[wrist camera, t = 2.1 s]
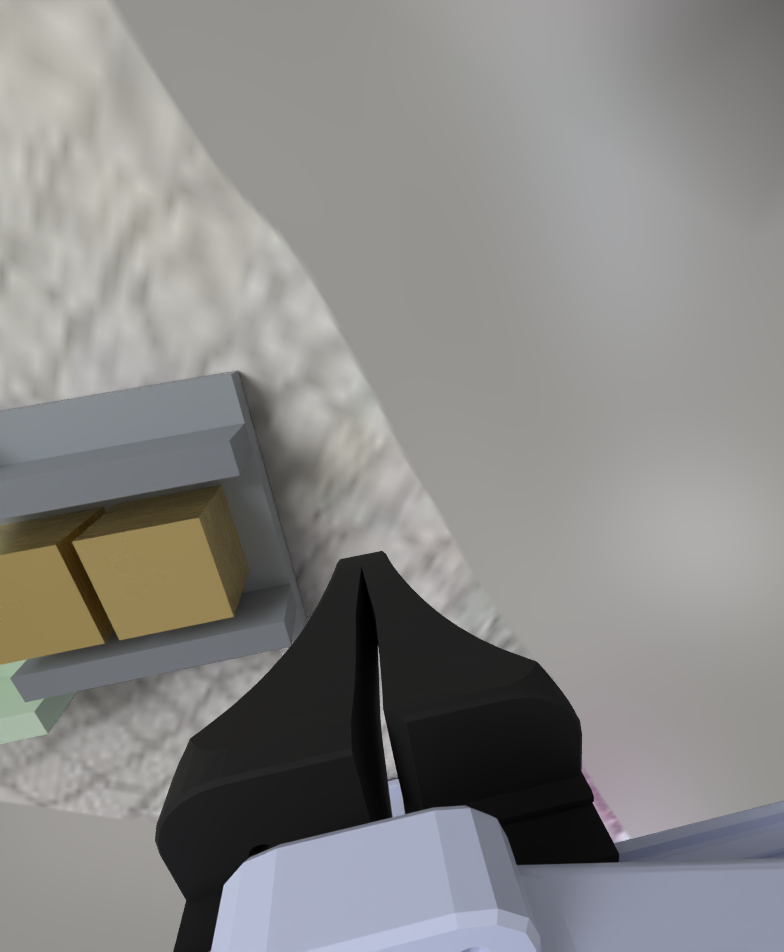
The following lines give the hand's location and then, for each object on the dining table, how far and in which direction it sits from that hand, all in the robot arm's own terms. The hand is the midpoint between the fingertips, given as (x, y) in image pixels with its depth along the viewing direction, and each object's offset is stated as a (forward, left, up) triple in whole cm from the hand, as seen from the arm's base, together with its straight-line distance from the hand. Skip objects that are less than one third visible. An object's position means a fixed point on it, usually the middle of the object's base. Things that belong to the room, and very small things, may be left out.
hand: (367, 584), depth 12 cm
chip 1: (0, +12, -6) cm, 13 cm away
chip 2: (0, +7, -6) cm, 9 cm away
